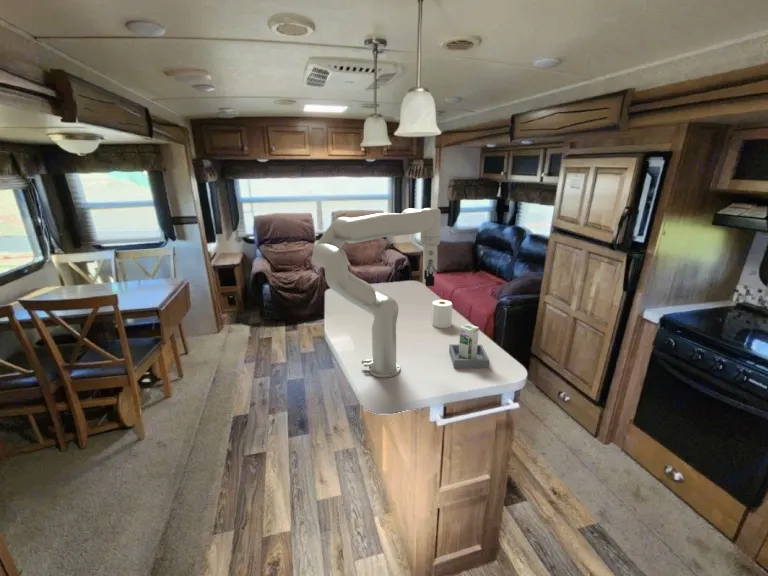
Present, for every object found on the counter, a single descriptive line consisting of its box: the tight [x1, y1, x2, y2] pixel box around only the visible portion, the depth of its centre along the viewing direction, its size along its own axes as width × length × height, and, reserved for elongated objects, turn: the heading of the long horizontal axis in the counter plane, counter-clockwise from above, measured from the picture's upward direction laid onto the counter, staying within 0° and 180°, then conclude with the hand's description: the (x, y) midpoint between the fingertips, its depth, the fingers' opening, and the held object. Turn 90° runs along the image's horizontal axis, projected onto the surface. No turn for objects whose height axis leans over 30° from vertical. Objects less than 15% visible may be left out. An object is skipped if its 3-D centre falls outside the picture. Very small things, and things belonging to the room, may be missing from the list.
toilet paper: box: [431, 299, 453, 329], centre depth 183 cm, size 10×10×12 cm
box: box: [448, 344, 490, 369], centre depth 147 cm, size 14×14×4 cm
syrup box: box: [458, 323, 480, 359], centre depth 146 cm, size 6×6×14 cm
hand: (429, 282), depth 142 cm, fingers open, 9 cm apart
